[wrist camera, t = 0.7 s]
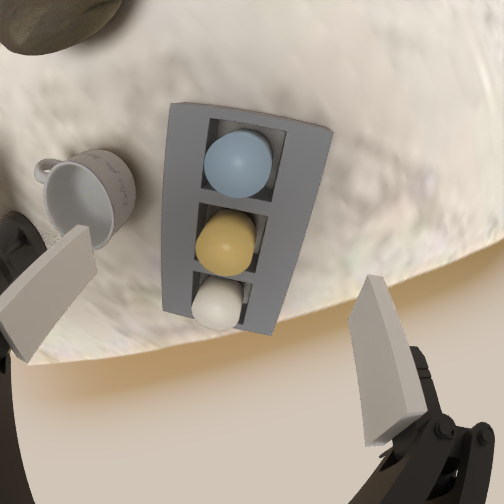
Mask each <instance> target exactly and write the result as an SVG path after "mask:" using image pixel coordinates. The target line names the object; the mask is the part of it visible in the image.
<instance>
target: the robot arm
mask: <svg viewBox="0 0 504 504" xmlns="http://www.w3.org/2000/svg"><path fill="white" fill-rule="evenodd" d="M96 273H97V268H96V263H95V258H94V253H93V248H92V243H91V237H90V231H89V226H83V225H76V226H75V227H74V228H73V229H71V230H70V231H69V232H68V233H67V234H65V235H64V236H63V237H62V238H61V239H59V240H58V241H57V242H56V243H55V244H54V245H52V246H51V247H50V248H49V249H48V250H47V251H46V248H45V245H44V243H43V241H42V239H41V237H40V235H39V234H38V232H37V230H36V229H35V228H34V226H33V225H32V224H31V223H30V221H29V220H28V219H27V218H25V217H24V216H23V215H21V214H20V213H17V212H10V213H8V214H7V215H5V216H4V217H2V218H1V219H0V504H35V502H34V500H33V497H32V494H31V491H30V488H29V484H28V481H27V478H26V474H25V470H24V467H23V462H22V458H21V453H20V449H19V444H18V438H17V433H16V426H15V419H14V411H13V401H12V388H11V358H10V354H9V353H8V351H9V350H10V348H11V349H12V351H13V352H14V354H15V355H16V357H17V358H19V359H21V360H22V361H24V362H25V363H27V364H28V362H29V361H30V359H31V358H32V356H33V355H34V353H35V352H36V350H37V349H38V348H39V346H40V345H41V343H42V342H43V340H44V339H45V338H46V336H47V335H48V333H49V332H50V331H51V329H52V328H53V327H54V325H55V324H56V323H57V321H58V320H59V319H60V317H61V316H62V315H63V314H64V312H65V311H66V310H67V308H68V307H69V306H70V305H71V303H72V302H73V301H74V300H75V298H76V297H77V296H78V295H79V293H80V292H81V291H82V290H83V289H84V287H85V286H86V285H87V284H88V283H89V282H90V280H91V279H92V278H93V277H94V276H95V275H96ZM348 324H349V329H350V334H351V340H352V345H353V352H354V357H355V364H356V371H357V377H358V384H359V392H360V400H361V408H362V417H363V427H364V437H365V446H366V447H369V446H382V445H385V444H386V443H387V442H389V441H390V440H392V441H393V447H391V448H390V449H389V450H387V451H385V452H384V453H382V454H381V455H380V456H379V458H382V457H384V456H385V457H384V458H383V460H382V461H381V463H380V464H379V466H378V467H377V468H376V470H375V471H374V472H373V474H372V475H371V476H370V478H369V479H368V480H367V482H366V483H365V484H364V485H363V487H362V488H361V489H360V490H359V492H358V493H357V494H356V495H355V496H354V497H353V499H352V500H351V501H350V502H349V503H348V504H485V501H486V497H487V492H488V487H489V482H490V476H491V470H492V462H493V454H494V443H495V436H494V432H493V429H492V428H491V427H490V425H489V424H487V423H485V422H480V423H478V424H476V425H475V426H474V427H472V428H471V429H470V428H464V427H459V426H456V425H455V423H454V421H453V419H451V418H450V417H449V416H448V415H446V414H443V413H442V411H441V408H440V405H439V401H438V397H437V394H436V390H435V387H434V384H433V381H432V379H431V374H430V371H429V370H428V365H427V362H426V359H425V356H424V355H423V354H422V352H421V351H420V350H419V348H418V347H415V346H409V344H408V341H407V339H406V336H405V333H404V330H403V327H402V324H401V322H400V319H399V316H398V314H397V311H396V308H395V306H394V303H393V300H392V298H391V296H390V293H389V291H388V288H387V286H386V283H385V281H384V278H383V277H380V276H374V275H367V278H366V280H365V282H364V285H363V287H362V289H361V292H360V294H359V296H358V298H357V300H356V303H355V305H354V307H353V309H352V311H351V313H350V316H349V318H348ZM457 470H458V473H457V477H456V472H457Z"/></svg>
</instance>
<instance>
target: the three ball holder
mask: <svg viewBox="0 0 504 504" xmlns="http://www.w3.org/2000/svg"><path fill="white" fill-rule="evenodd" d="M219 119H222V120H228V121H235V122H241V123H247V124H252V125H258V126H263V127H268V128H273V129H278V130H283V131H286V134H285V139H284V143H283V148H282V152H281V157H280V161H279V166H278V171H277V175H276V180H275V184H274V189H269V188H264V187H263V188H262V189H261V190H260V191H259V192H257V193H256V194H254V195H252V196H249V197H245V198H231V197H228V196H225V195H223V194H221V193H219V192H218V191H216V190H215V189H214V188H213V187H212V186H211V184H210V183H209V181H208V179H207V177H206V174H205V170H204V160H205V156H206V153H207V151H208V149H209V148H210V146H211V145H212V144H213V143H214V142H215V141H216V136H217V130H218V123H219ZM332 136H333V131H331V130H330V129H328V128H326V127H323V126H319V125H315V124H311V123H307V122H303V121H299V120H294V119H290V118H286V117H281V116H276V115H271V114H266V113H261V112H255V111H249V110H243V109H237V108H230V107H223V106H216V105H207V104H198V103H187V102H182V103H171V104H170V111H169V120H168V129H167V138H166V149H165V161H164V176H163V194H162V222H161V277H162V305H163V311H166V312H169V313H173V314H177V315H181V316H185V317H188V318H192V319H195V318H194V317H193V314H192V311H191V308H192V304H193V302H194V299H195V297H196V295H197V292H198V290H199V283H200V272H202V273H206V274H210V275H215V276H219V277H224V278H228V279H233V280H237V281H242V282H247V283H251V284H252V286H251V290H250V294H249V299H248V303H247V305H246V304H242V307H241V312H240V316H239V320H238V323H237V324H236V326H234V327H233V328H235V329H240V330H245V331H250V332H255V333H260V334H265V335H270V336H271V335H272V333H273V331H274V328H275V325H276V322H277V319H278V316H279V313H280V310H281V308H282V305H283V302H284V299H285V296H286V293H287V290H288V287H289V284H290V281H291V278H292V274H293V271H294V268H295V265H296V262H297V259H298V256H299V252H300V249H301V246H302V243H303V240H304V236H305V233H306V230H307V226H308V223H309V220H310V216H311V213H312V210H313V206H314V203H315V199H316V196H317V192H318V189H319V185H320V181H321V178H322V174H323V171H324V167H325V163H326V159H327V156H328V152H329V148H330V144H331V140H332ZM207 204H210V205H215V206H220V207H225V208H230V209H235V210H240V211H245V212H250V213H255V214H259V215H264V216H267V220H266V224H265V229H264V233H263V238H262V242H261V246H260V251H259V254H254V253H253V256H252V260H251V263H250V265H249V266H248V268H247V269H246V270H244V271H243V272H242V273H240V274H237V275H234V276H220V275H217V274H214V273H212V272H210V271H209V270H207V269H206V268H205V267H204V266H203V265H202V264H201V263H200V262H199V260H198V258H197V255H196V251H195V246H196V241H197V239H198V237H199V235H200V234H201V232H202V230H203V229H204V227H205V220H206V211H207Z"/></svg>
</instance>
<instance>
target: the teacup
mask: <svg viewBox="0 0 504 504" xmlns="http://www.w3.org/2000/svg"><path fill="white" fill-rule="evenodd" d="M43 170H50V172H49V173H46V172H44V171H43ZM34 176H35V179H36V180H37V181H38V182H40V183H42V184H45V185H44V202H45V208H46V211H47V214H48V216H49V218H50V220H51V222H52V224H53V226H54V227H55V229H56V230H57V231H58V233H59V234H60V235H61V236H62V237H63V236H64V235H65V234H67V233H68V232H69V231H70V230H71V229H73V228H74V227H75V226H76V225H83V226H89V231H90V237H91V243H92V248H93V250H97V249H100V248H102V247H103V246H104V245H106V244H107V243H108V242H109V240H110V239H111V237H112V236H113V235H114V234H115V233H116V232H117V231H118V230H119V229H120V227H121V226H122V225H123V224H124V223H125V222H126V220H127V219H128V218H129V216H130V214H131V213H132V211H133V208H134V205H135V200H136V186H135V182H134V178H133V176H132V173H131V171H130V169H129V168H128V166H127V165H126V164H125V162H124V161H123V160H122V159H121V158H119V157H118V156H117V155H115V154H114V153H112V152H109V151H106V150H101V149H95V150H89V151H86V152H83V153H81V154H78V155H76V156H74V157H72V158H70V159H68V160H66V161H60V160H56V159H44V160H41V161H40V162H38V163H37V165H36V167H35V171H34Z"/></svg>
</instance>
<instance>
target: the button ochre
mask: <svg viewBox="0 0 504 504" xmlns="http://www.w3.org/2000/svg"><path fill="white" fill-rule="evenodd" d="M256 236H257V233H256V228H255V225H254V223H253V222H252V220H251V219H250V218H249V217H248V216H247V215H245V214H244V213H242V212H239V211H236V210H230V209H227V210H221V211H219V212H217V213H215V214H214V215H212V216H211V217H210V219H209V220H208V222H207V224H206V225H205V227H204V229H203V230H202V232H201V234H200V235H199V237H198V239H197V241H196V246H195V251H196V255H197V258H198V260H199V262H200V263H201V264H202V265H203V266H204V267H205V268H206V269H207V270H209V271H210V272H212V273H214V274H217V275H220V276H234V275H237V274H240V273H242V272H243V271H244V270H246V269H247V268H248V266H249V265H250V263H251V260H252V256H253V251H254V246H255V242H256Z"/></svg>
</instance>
